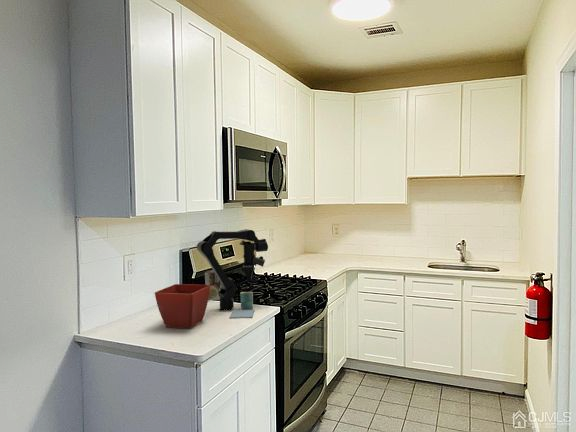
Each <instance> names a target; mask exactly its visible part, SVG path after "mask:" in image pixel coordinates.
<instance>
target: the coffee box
mask: <svg viewBox="0 0 576 432" xmlns="http://www.w3.org/2000/svg"><path fill="white" fill-rule="evenodd" d="M204 281H205V284H204V285H210V292H209V298H208V301H220V296H219V295H218V292H219V291H220V290H221V285H220V280H219V279H218V277H217V275H216V274H215V272H214V271H213V270H207V271H205V272H204Z"/></svg>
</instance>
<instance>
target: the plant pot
mask: <svg viewBox="0 0 576 432" xmlns="http://www.w3.org/2000/svg"><path fill="white" fill-rule="evenodd" d="M209 292H210V285H205V284H191V283H190V284H188V283H186V284H185V283H180V284H179V283H175V284H172V285H170V286H167V287H165V288H163V289H160V290H157V291H155V292H154V297H155V302H156V305H157V308H158V312H159V314H160V317H161V319H162V321H163V324H164V326H165V328H175V329H176V328H177V329H192V328H194V327H196V326H197V325H198V324H200V323H201V322H203V320H204V317H205V314H206V311H207V305H208V302H209V300H208V298H209Z"/></svg>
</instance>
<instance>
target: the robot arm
mask: <svg viewBox="0 0 576 432" xmlns="http://www.w3.org/2000/svg"><path fill="white" fill-rule="evenodd" d="M223 239H224V240H227V239H229V240H231V239H232V240H233V239H234V240H235V239H239V240H241V241H240V242H239V245H240V246H243V248H242V249H243V255H242V257H243V265H242V266H241V272H244V274H245V277H246V279H247V281H248V282H249V283H250V282H252V277H253V273H254V271H255V269H256V266H260V267H264V265H265V263H266V259H265V258H264V256H262V255H261V256H256V254H255V252H256V253H260V252H267V251H268V250H269V245H268V242H267V239H266V238H260V239H259V238H258V237H257V236H256V232H255V230H253V229H248V228H247V229H242V230H241V229H240V230H237V231H236V230H235V231H217V230H213V231H211V232H210V234H209V235H207V236H206V237H205V238H203V240H201V241H199V242H198V243H197V244H196V250H197V251H198V253H200V254H201V255H202V257H204V259H206V261H207V263H208V264H209V265H210V267H211V269H212V271H214V272H215V274H216V275H217V277H218V279H219V280H220V285H221V290H220V291H219V292H218V295H219V296H220V300H219V311H220V312H221V311H233V310H234V308H235V307H234V306H235V303H234V302H235V301H234V297H235V294H236V293H237V290H238V288H237V286H238V285H237V284H236V283H235V281H234V278H231V277H228V276H227V273H225V271H224V270H223V268H222V267H221V265H220V263H219V261H218V259H217V258H216V257H215V253H214V249H213V247H214V246H215V245H216V243H217V241H218V240H223Z"/></svg>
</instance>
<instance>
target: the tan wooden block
mask: <svg viewBox="0 0 576 432" xmlns="http://www.w3.org/2000/svg"><path fill="white" fill-rule="evenodd" d="M253 294H254V293H253V291H241V292H240V294H239V295H240V310H254V299H253V298H254V296H253Z"/></svg>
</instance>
